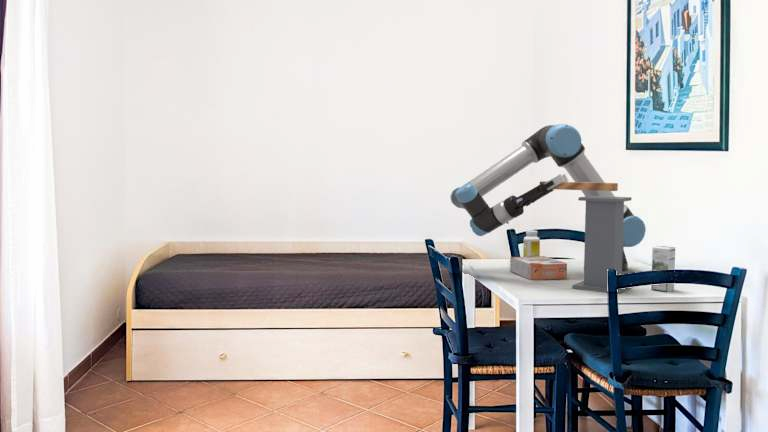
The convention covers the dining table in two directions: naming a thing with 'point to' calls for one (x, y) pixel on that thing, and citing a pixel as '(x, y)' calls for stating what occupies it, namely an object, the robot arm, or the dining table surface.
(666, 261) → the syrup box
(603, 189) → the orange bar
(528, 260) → the cracker box
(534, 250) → the supplement bottle
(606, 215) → the gray pedestal stand
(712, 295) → the dining table surface
